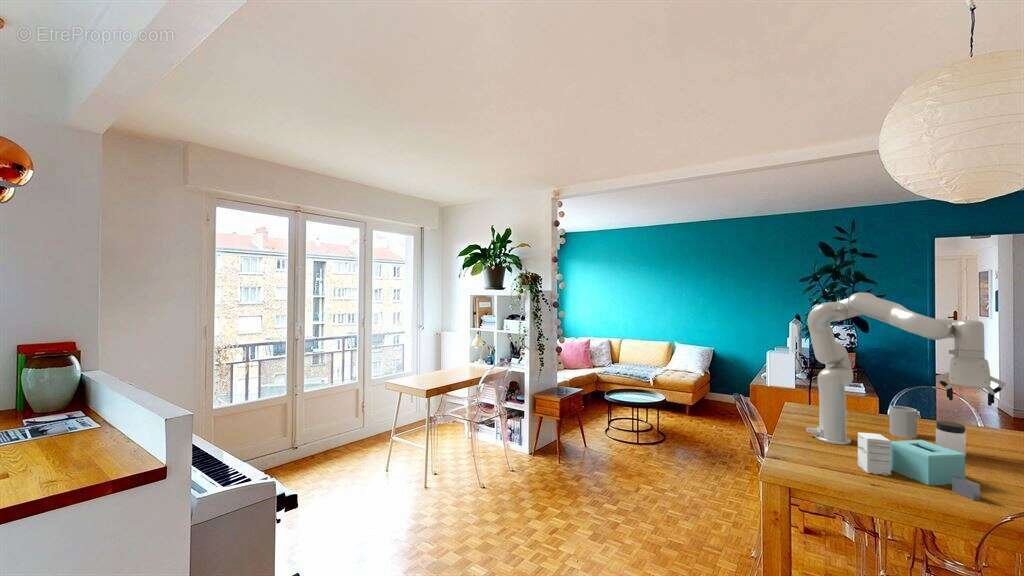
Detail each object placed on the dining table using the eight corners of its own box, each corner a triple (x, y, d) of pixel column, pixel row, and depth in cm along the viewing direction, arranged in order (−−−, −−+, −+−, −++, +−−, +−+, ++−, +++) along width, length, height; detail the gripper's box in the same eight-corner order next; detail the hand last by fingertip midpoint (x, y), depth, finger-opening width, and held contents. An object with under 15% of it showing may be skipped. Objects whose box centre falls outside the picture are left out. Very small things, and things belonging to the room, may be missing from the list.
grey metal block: (973, 500, 136) (973, 484, 136) (952, 491, 142) (952, 476, 142) (979, 500, 136) (979, 484, 136) (958, 491, 142) (958, 476, 142)
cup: (888, 430, 203) (888, 404, 203) (915, 434, 198) (915, 407, 198) (891, 435, 196) (891, 409, 196) (918, 439, 191) (918, 412, 191)
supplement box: (857, 465, 163) (857, 431, 163) (880, 468, 160) (880, 433, 160) (866, 473, 155) (866, 438, 156) (891, 476, 153) (891, 440, 153)
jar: (962, 459, 169) (962, 428, 169) (933, 452, 175) (933, 423, 175) (968, 454, 173) (968, 424, 174) (940, 448, 180) (940, 419, 180)
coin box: (928, 485, 146) (928, 455, 146) (887, 468, 160) (887, 441, 160) (965, 483, 148) (965, 454, 148) (922, 466, 161) (922, 439, 161)
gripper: (934, 353, 161) (934, 399, 161) (1004, 358, 147) (1005, 409, 147) (937, 351, 166) (938, 396, 165) (1006, 356, 152) (1007, 405, 152)
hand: (969, 402), depth 156 cm, fingers open, 9 cm apart
